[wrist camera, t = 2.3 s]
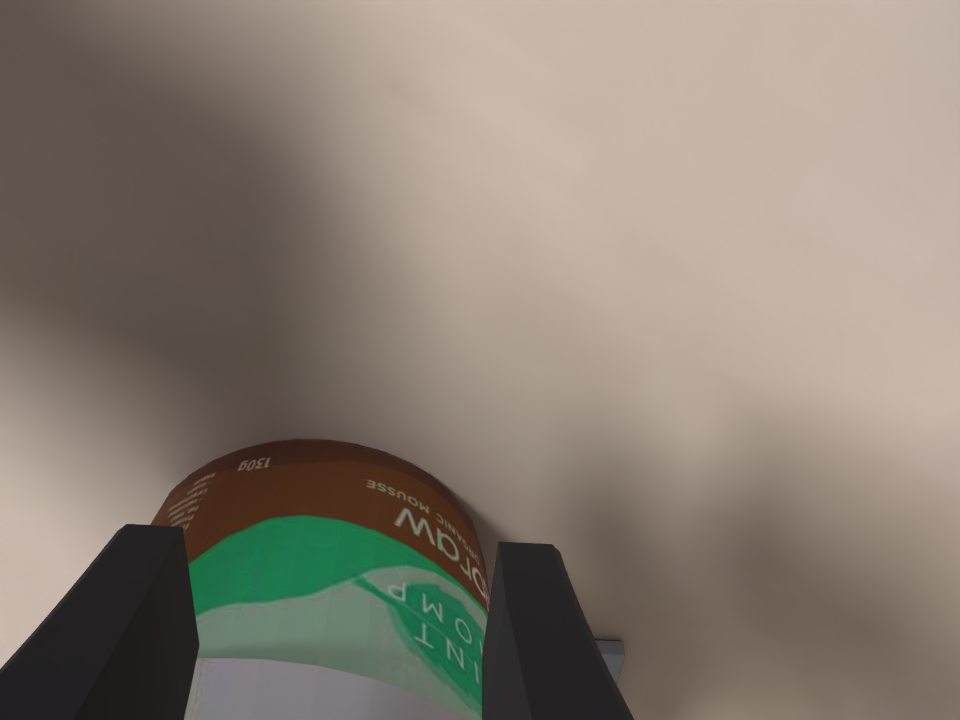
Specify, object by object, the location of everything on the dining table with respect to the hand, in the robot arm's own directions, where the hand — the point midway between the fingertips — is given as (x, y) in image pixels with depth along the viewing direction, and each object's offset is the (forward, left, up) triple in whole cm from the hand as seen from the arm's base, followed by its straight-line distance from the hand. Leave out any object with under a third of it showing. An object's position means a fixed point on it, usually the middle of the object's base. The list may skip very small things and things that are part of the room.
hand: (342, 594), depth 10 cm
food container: (+9, 0, -10) cm, 14 cm away
